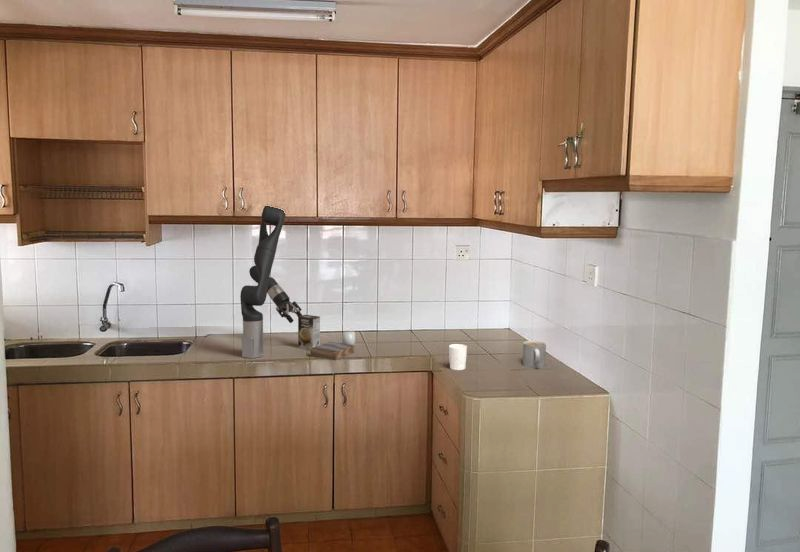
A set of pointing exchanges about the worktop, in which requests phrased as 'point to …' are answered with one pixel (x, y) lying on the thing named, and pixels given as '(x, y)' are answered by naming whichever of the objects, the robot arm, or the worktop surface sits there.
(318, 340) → the coffee box
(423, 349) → the worktop surface
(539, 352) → the coffee mug
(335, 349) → the podium
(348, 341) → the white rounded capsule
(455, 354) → the white cup
